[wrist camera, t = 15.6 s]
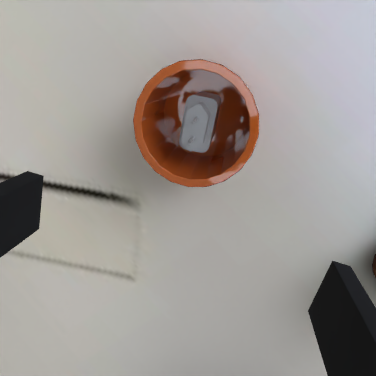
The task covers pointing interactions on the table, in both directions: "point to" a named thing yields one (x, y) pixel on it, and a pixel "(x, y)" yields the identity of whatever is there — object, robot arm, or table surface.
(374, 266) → the food container
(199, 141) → the power adapter
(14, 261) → the table surface
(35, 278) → the table surface
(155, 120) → the orange flower pot
